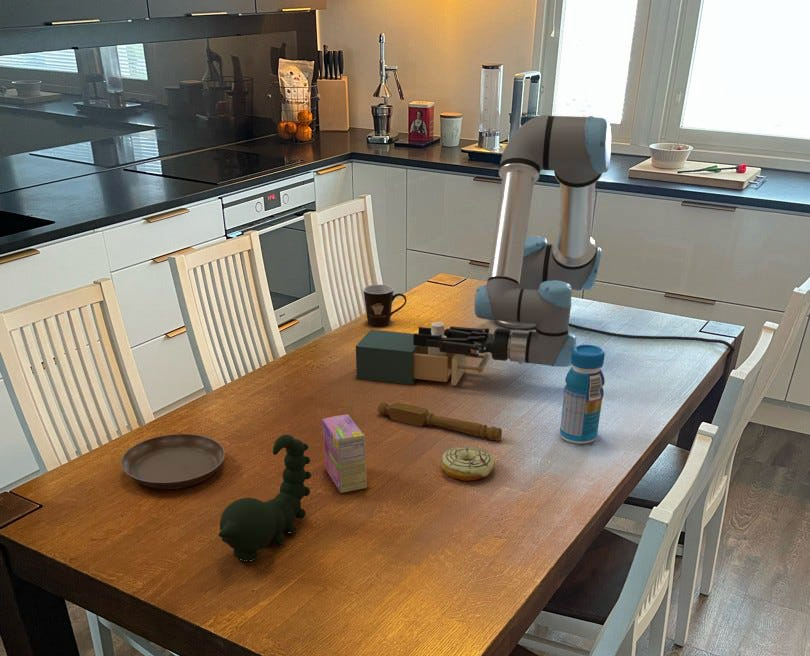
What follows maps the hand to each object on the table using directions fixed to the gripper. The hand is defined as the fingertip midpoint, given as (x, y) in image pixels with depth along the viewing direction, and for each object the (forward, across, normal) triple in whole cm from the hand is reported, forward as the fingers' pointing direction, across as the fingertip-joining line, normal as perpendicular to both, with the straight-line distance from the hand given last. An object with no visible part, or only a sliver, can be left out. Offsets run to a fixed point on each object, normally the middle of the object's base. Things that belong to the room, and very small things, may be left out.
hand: (416, 335), depth 211 cm
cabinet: (+7, 0, -10) cm, 12 cm away
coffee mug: (+19, +34, -10) cm, 40 cm away
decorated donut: (-23, -45, -11) cm, 52 cm away
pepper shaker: (-5, 0, -6) cm, 8 cm away
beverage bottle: (-43, -23, -11) cm, 50 cm away
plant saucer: (+35, -61, -11) cm, 71 cm away
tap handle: (-12, -27, -11) cm, 31 cm away
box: (0, -55, -11) cm, 56 cm away
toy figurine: (+6, -80, -11) cm, 81 cm away
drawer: (-8, 0, -10) cm, 12 cm away
